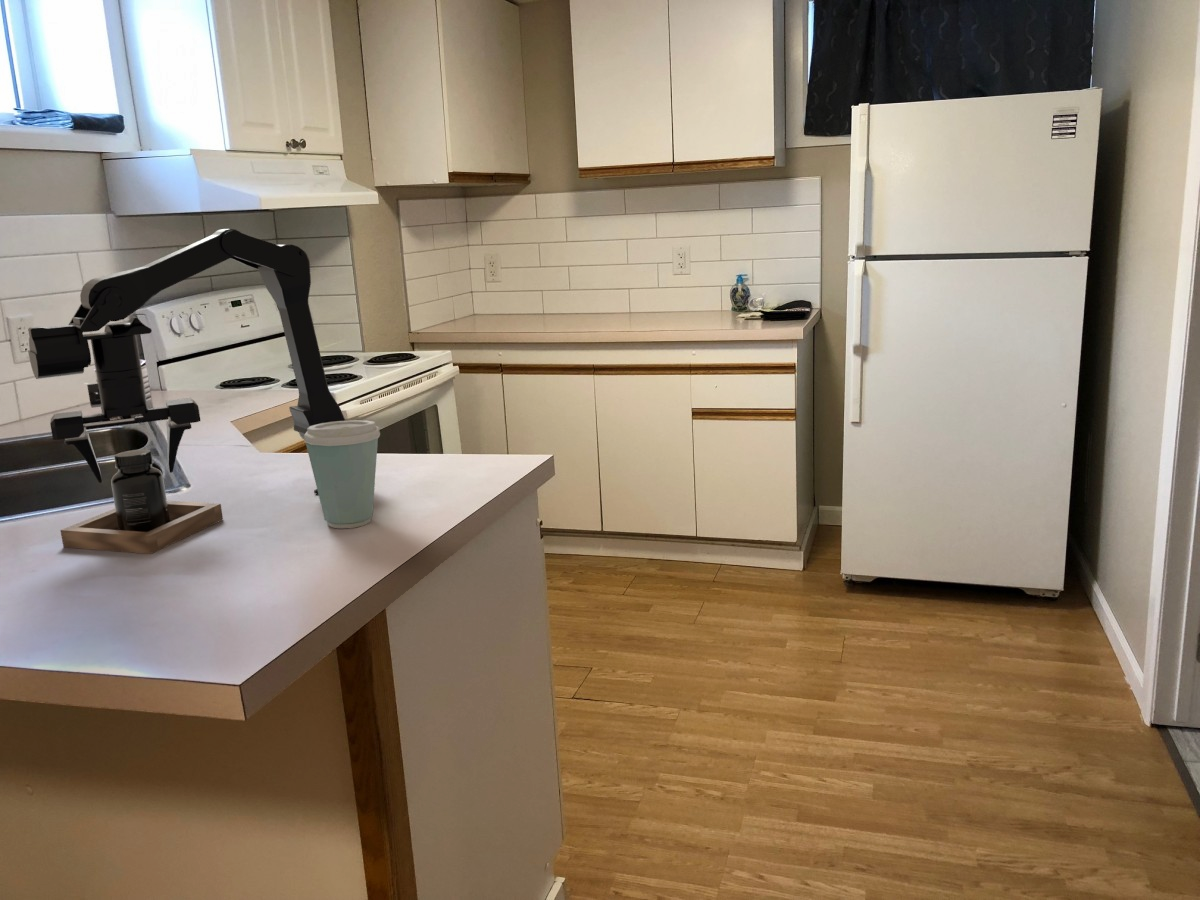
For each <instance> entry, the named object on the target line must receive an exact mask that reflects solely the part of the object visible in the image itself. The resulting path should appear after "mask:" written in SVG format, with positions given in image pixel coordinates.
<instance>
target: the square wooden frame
mask: <svg viewBox="0 0 1200 900" xmlns="http://www.w3.org/2000/svg"><path fill="white" fill-rule="evenodd" d="M167 505H168V511H169V517H170V522H169V523H166V524H164V525H162V526H160V527H157V528H155V529H153V530H151V531H148V532H138V531H123V530H119V526H118V521H117V515H116V509H115V508H112V509H110V510H108V511H105V512H103V513H100V514H98V515H95V516H93V517H90V518H87V519H85V520H82V521H80V522H78V523H75V524H72V525H69V526H67V527H64V528H63V529H60V530H59V531H60V535H61V541H62V546H63V548H70V549H84V550H85V549H86V550H97V551H99V550H100V551H111V552H123V553H136V554H149V555H150V554H153V553H155V552H158V551H159V550H162V549H164V548H166V547H168V546H170V545H173V544H175V543H177V542H179V541H180V540H181V541H182V540H184V539H185V538H187V537H190V536H191V535H193V534H195V533H198V532H200V531H202V530H204V529H206V528H209V527H210V525H211V526H213V525H215V524H216V522H217V523H219V522H222V521H223V520H224V516H223V510H222V504H221V503H214V502H213V503H211V502H197V501H195V502H194V501H180V500H177V501H176V500H167ZM222 519H223V520H222ZM218 521H219V522H218ZM214 523H215V524H214ZM212 524H213V525H212ZM208 526H209V527H208Z"/></svg>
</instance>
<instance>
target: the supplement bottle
mask: <svg viewBox="0 0 1200 900" xmlns="http://www.w3.org/2000/svg"><path fill="white" fill-rule="evenodd" d="M114 462H115V464H114V466H115V467H114V468H115V469H116V470H117V472H116V473H115V474H113V476H112V477H111V480H110V484H111V492H112V498H113V503H114V509H116V515H117V521H118V526H119V528H118V530H123V531H138V532H148V531H151V530H153V529H155V528H157V527H160V526H162V525H164V524H166V523H169V522H171V520H170V517H169V511H168V505H167V501H168V499H167V494H166V488H165V487H166V486H165V481H164V475H163V473H162V471H161V470H160V469H158V468H156V467H154V466H153V464H154V459H153V455H152V451H151V450H150V449H132V450H127V451H121V452H119V453H116V454H114Z"/></svg>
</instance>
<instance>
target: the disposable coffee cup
mask: <svg viewBox="0 0 1200 900" xmlns="http://www.w3.org/2000/svg"><path fill="white" fill-rule="evenodd" d="M380 436H381V432H380V427H379V426H377V425H376V422H375V421H372V420H367V419H365V420H357V419H356V420H355V419H351V420H349V419H348V420H345V421H335V422H328V423H321V424H317V425H313V426H310V427H309V428H308V429H307V432H306V433H305V435H304V439H303V442H305V445H306V449H307V454H308V457H309V462H310V466H311V471H312V474H313V478H314V481H315V486H316V489H317V490H318V494H317V495H318V499H319V501H320V506H321V510H322V514H323V519H324V521H326V524H327V526H329V527H331V528H335V529H352V528H353V529H354V528H357V527H362V526H363V527H364V526H365V525H367V524H369V523H371V520H372V517H373V513H374V497H375V486H376V469H377V455H378V441H379V440H378V439H379V438H380Z"/></svg>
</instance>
